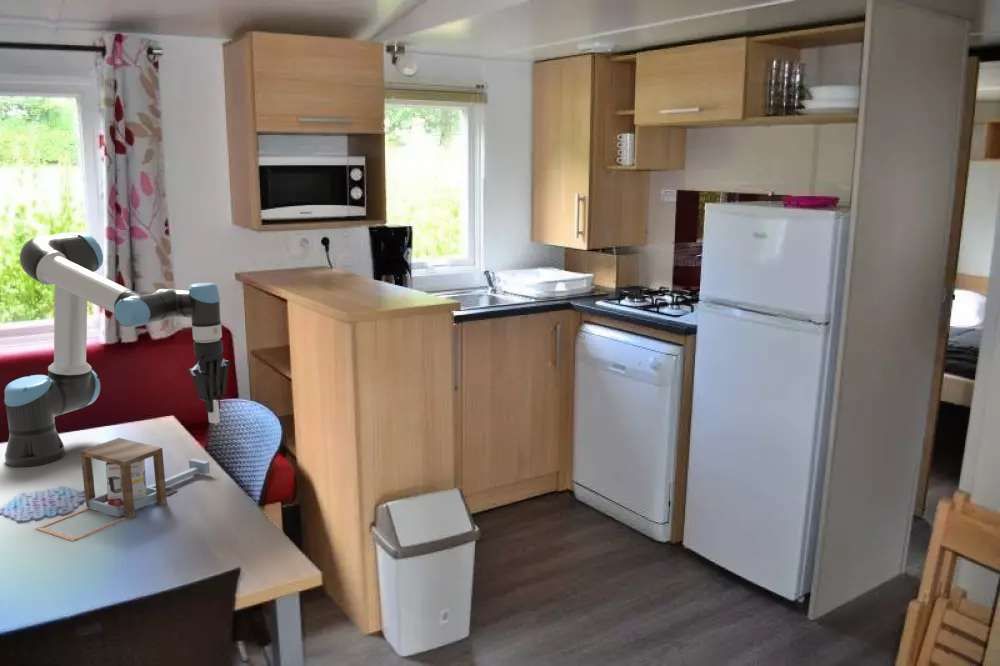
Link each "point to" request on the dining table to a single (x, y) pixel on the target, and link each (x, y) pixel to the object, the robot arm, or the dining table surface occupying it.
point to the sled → (148, 490)
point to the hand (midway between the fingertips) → (214, 422)
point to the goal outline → (68, 536)
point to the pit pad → (170, 492)
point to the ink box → (116, 484)
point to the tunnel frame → (124, 468)
